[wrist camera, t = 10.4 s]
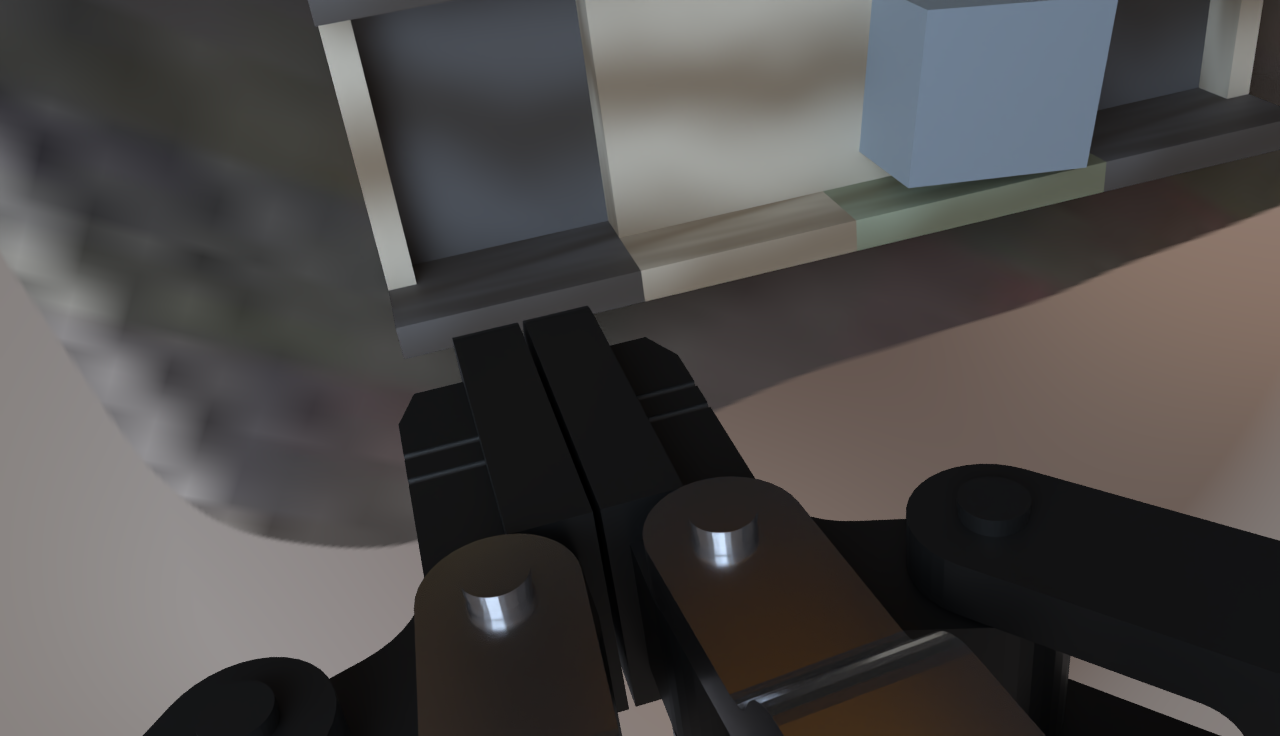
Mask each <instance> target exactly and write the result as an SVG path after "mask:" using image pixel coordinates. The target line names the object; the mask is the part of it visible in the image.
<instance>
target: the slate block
mask: <svg viewBox="0 0 1280 736" xmlns="http://www.w3.org/2000/svg"><path fill="white" fill-rule="evenodd" d="M1117 4H1118V0H872V7H871V18H870V30H869V42H868V54H867V65H866V77H865V89H864V101H863V112H862V124H861V136H860V148H859V152H861V153H862V154H863V155H865V156H866V157H867V158H869V159H870V160H871V161H873V162H874V163H875V164H877V165H878V166H879V167H881V168H882V169H883V170H885V171H886V172H887V173H889V174H890V175H891V176H893V177H894V178H895V179H897V180H898V181H899V182H901V183H902V184H903V185H905V186H906V187H907V188H915V187H923V186H932V185H940V184H949V183H957V182H966V181H975V180H983V179H992V178H1000V177H1009V176H1017V175H1026V174H1035V173H1043V172H1052V171H1060V170H1069V169H1077V168H1086V167H1087V163H1088V157H1089V152H1090V147H1091V141H1092V136H1093V131H1094V125H1095V120H1096V115H1097V110H1098V104H1099V99H1100V94H1101V88H1102V83H1103V78H1104V72H1105V67H1106V62H1107V57H1108V51H1109V46H1110V41H1111V35H1112V30H1113V25H1114V19H1115V14H1116V9H1117Z"/></svg>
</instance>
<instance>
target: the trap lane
mask: <svg viewBox="0 0 1280 736" xmlns="http://www.w3.org/2000/svg"><path fill="white" fill-rule="evenodd" d="M308 2H309V6H310V10H311V13H312V17H313V21H314V25H315V27H316V26H318V27H319V31H320V34H321V38H322V42H323V46H324V49H325V53H326V57H327V61H328V64H329V68H330V72H331V76H332V79H333V83H334V87H335V91H336V94H337V98H338V102H339V106H340V109H341V113H342V117H343V121H344V124H345V128H346V132H347V136H348V139H349V143H350V147H351V151H352V155H353V158H354V162H355V166H356V170H357V173H358V177H359V181H360V185H361V188H362V192H363V196H364V200H365V203H366V207H367V211H368V215H369V218H370V222H371V226H372V230H373V233H374V237H375V241H376V245H377V248H378V252H379V256H380V260H381V263H382V267H383V271H384V275H385V278H386V282H387V286H388V290H389V295H390V300H391V305H392V310H393V316H394V321H395V326H396V331H397V334H398V338H399V342H400V346H401V349H402V353H403V357H404V359H407V358H411V357H415V356H419V355H423V354H428V353H432V352H436V351H440V350H444V349H449V348H453V347H454V345H453V340H452V338H454V337H458V336H462V335H466V334H470V333H475V332H479V331H483V330H487V329H491V328H496V327H500V326H504V325H508V324H512V323H518V324H519V326H520V328H521V331H523V321H524V320H528V319H532V318H537V317H541V316H545V315H549V314H553V313H558V312H562V311H566V310H570V309H574V308H579V307H583V306H589V308H590V309H591V311H592V313H593V314H595V313H599V312H603V311H608V310H612V309H616V308H620V307H624V306H628V305H633V304H637V303H641V302H645V301H649V300H654V299H658V298H662V297H666V296H670V295H674V294H679V293H683V292H687V291H691V290H695V289H700V288H704V287H708V286H712V285H716V284H720V283H725V282H729V281H733V280H737V279H741V278H746V277H750V276H754V275H758V274H762V273H766V272H771V271H775V270H779V269H783V268H787V267H792V266H796V265H800V264H804V263H808V262H813V261H817V260H821V259H825V258H829V257H833V256H838V255H842V254H846V253H850V252H854V251H859V250H863V249H867V248H871V247H875V246H879V245H884V244H888V243H892V242H896V241H900V240H905V239H909V238H913V237H917V236H921V235H925V234H930V233H934V232H938V231H942V230H946V229H951V228H955V227H959V226H963V225H967V224H971V223H976V222H980V221H984V220H988V219H992V218H997V217H1001V216H1005V215H1009V214H1013V213H1017V212H1022V211H1026V210H1030V209H1034V208H1038V207H1043V206H1047V205H1051V204H1055V203H1059V202H1064V201H1068V200H1072V199H1076V198H1080V197H1084V196H1089V195H1093V194H1097V193H1101V192H1105V191H1110V190H1114V189H1118V188H1122V187H1126V186H1130V185H1135V184H1139V183H1143V182H1147V181H1151V180H1156V179H1160V178H1164V177H1168V176H1172V175H1176V174H1181V173H1185V172H1189V171H1193V170H1197V169H1202V168H1206V167H1210V166H1214V165H1218V164H1222V163H1227V162H1231V161H1235V160H1239V159H1243V158H1248V157H1252V156H1256V155H1260V154H1264V153H1269V152H1273V151H1277V150H1280V106H1278V105H1276V104H1273V103H1271V102H1268V101H1265V100H1263V99H1260V98H1258V97H1255V96H1253V95H1250V94H1249V89H1250V82H1251V76H1252V70H1253V63H1254V57H1255V51H1256V44H1257V38H1258V32H1259V25H1260V19H1261V13H1262V6H1263V0H1118V4H1117V9H1116V14H1115V19H1114V25H1113V30H1112V35H1111V41H1110V46H1109V51H1108V57H1107V62H1106V67H1105V72H1104V78H1103V83H1102V88H1101V94H1100V99H1099V104H1098V110H1097V115H1096V120H1095V125H1094V131H1093V136H1092V141H1091V147H1090V152H1089V157H1088V163H1087V167H1086V168H1077V169H1069V170H1060V171H1052V172H1043V173H1035V174H1026V175H1017V176H1009V177H1000V178H992V179H983V180H975V181H966V182H957V183H949V184H940V185H932V186H923V187H915V188H907V187H906V186H905V185H903V184H902V183H901V182H899V181H898V180H897V179H895V178H894V177H893V176H891V175H890V174H889V173H887V172H886V171H885V170H883V169H882V168H881V167H879V166H878V165H877V164H875V163H874V162H873V161H871V160H870V159H869V158H867V157H866V156H865V155H863V154H862V153H861V152H859V148H860V136H861V124H862V112H863V101H864V89H865V77H866V65H867V54H868V42H869V30H870V18H871V7H872V0H308Z"/></svg>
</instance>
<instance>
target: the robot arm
mask: <svg viewBox="0 0 1280 736" xmlns="http://www.w3.org/2000/svg"><path fill="white" fill-rule="evenodd" d="M523 332H524V336H523V333H522V331H521V328H520V326H519V324H518V323H512V324H508V325H504V326H500V327H496V328H491V329H487V330H483V331H479V332H475V333H470V334H466V335H462V336H458V337H454V338H452V340H453V345H454V350H455V354H456V358H457V362H458V366H459V371H460V375H461V379H462V382H461V383H457V384H453V385H449V386H445V387H441V388H437V389H433V390H428V391H424V392H420V393H416V394H414V395H413V397H412V399H411V401H410V403H409V405H408V407H407V409H406V411H405V413H404V415H403V417H402V419H401V421H400V423H399V430H400V436H401V442H402V448H403V454H404V458H405V466H406V472H407V478H408V482H409V489H410V495H411V501H412V507H413V513H414V519H415V525H416V531H417V537H418V543H419V549H420V555H421V561H422V567H423V573H424V579H423V581H422V582H421V584H420V586H419V588H418V591H417V593H416V596H415V604H414V616H413V618H412V619H411V620H410V622H409V623H408V624H407V626H406V627H405V628H404V629H403V630H402V631H401V632H400V633H399V634H398V635H397V636H396V637H395V638H394V639H393V640H392V641H391V642H390V643H388V644H387V645H386V646H384V647H383V648H382V649H380V650H379V651H378V652H376V653H375V654H373V655H371V656H369V657H368V658H366V659H365V660H363V661H361V662H360V663H357V664H356V665H354V666H352V667H350V668H348V669H346V670H345V671H343V672H341V673H339V674H337V675H335V676H334V677H332V678H330V679H329V678H328V677H327V676H326V675H325V674H324V673H323V672H322V671H321V670H320V669H319V668H317V667H315V666H314V665H312V664H310V663H308V662H305V661H302V660H299V659H293V658H287V657H269V658H261V659H255V660H250V661H246V662H242V663H239V664H236V665H233V666H231V667H228V668H225V669H223V670H221V671H219V672H217V673H215V674H213V675H211V676H209V677H207V678H206V679H204V680H202V681H201V682H199V683H198V684H196V685H194V686H193V687H192V688H190V689H189V690H188V691H187V692H185V693H184V694H183V695H182V696H180V698H178V699H177V700H176V701H175V702H174V703H173V704H172V705H171V706H170V707H169V708H168V709H167V710H166V711H165V712H164V713H163V715H162V716H161V717H160V718H159V719H158V720H157V721H156V722H155V723H154V724H153V725H152V726H151V727H150V728H149V730H148V731H147V732H146V733H145V734H144V735H143V736H622V733H621V728H620V723H619V718H618V712H621V711H625V710H628V709H629V707H628V701H627V696H626V691H625V685H624V679H623V674H622V670H623V673H624V675H625V678H626V681H627V684H628V686H629V689H630V692H631V695H632V698H633V700H634V703H635V706H639V705H643V704H646V703H649V702H653V701H656V700H659V699H662V700H663V703H664V705H665V708H666V710H667V713H668V716H669V718H670V721H671V723H672V727H673V734H674V736H1220V735H1217V734H1214V733H1212V732H1209V731H1206V730H1204V729H1201V728H1198V727H1195V726H1193V725H1190V724H1188V723H1185V722H1182V721H1180V720H1177V719H1174V718H1172V717H1169V716H1166V715H1164V714H1161V713H1158V712H1155V711H1153V710H1151V709H1148V708H1145V707H1143V706H1140V705H1137V704H1135V703H1132V702H1129V701H1126V700H1124V699H1121V698H1119V697H1116V696H1113V695H1111V694H1108V693H1105V692H1103V691H1100V690H1097V689H1095V688H1092V687H1089V686H1087V685H1084V684H1081V683H1079V682H1076V681H1073V680H1071V679H1068V674H1069V663H1070V656H1073V657H1076V658H1078V659H1081V660H1084V661H1087V662H1089V663H1092V664H1095V665H1098V666H1101V667H1103V668H1106V669H1108V670H1111V671H1114V672H1117V673H1119V674H1122V675H1125V676H1128V677H1130V678H1133V679H1136V680H1139V681H1141V682H1144V683H1147V684H1150V685H1153V686H1155V687H1158V688H1161V689H1163V690H1166V691H1169V692H1171V693H1174V694H1177V695H1180V696H1182V697H1185V698H1188V699H1191V700H1193V701H1196V702H1199V703H1202V704H1204V705H1206V706H1209V707H1211V708H1213V709H1215V710H1216V711H1218V712H1220V713H1221V714H1223V715H1224V716H1225V717H1227V718H1228V719H1229V720H1230V721H1232V722H1233V723H1234V724H1235V725H1236V726H1237V728H1238V729H1239V730H1240V731H1241V732H1242V734H1243V735H1244V736H1280V541H1278V540H1275V539H1272V538H1268V537H1264V536H1261V535H1257V534H1253V533H1250V532H1247V531H1243V530H1239V529H1236V528H1232V527H1229V526H1225V525H1222V524H1218V523H1215V522H1211V521H1207V520H1204V519H1200V518H1197V517H1193V516H1190V515H1186V514H1182V513H1179V512H1175V511H1172V510H1168V509H1164V508H1161V507H1157V506H1154V505H1150V504H1146V503H1143V502H1140V501H1136V500H1133V499H1129V498H1125V497H1122V496H1118V495H1115V494H1111V493H1108V492H1104V491H1101V490H1097V489H1093V488H1090V487H1086V486H1082V485H1079V484H1076V483H1072V482H1068V481H1064V480H1061V479H1058V478H1054V477H1050V476H1047V475H1043V474H1040V473H1036V472H1033V471H1029V470H1026V469H1021V468H1017V467H1012V466H1006V465H998V464H976V465H965V466H960V467H955V468H951V469H948V470H945V471H942V472H940V473H937V474H935V475H933V476H931V477H930V478H928V479H927V480H925V481H924V482H922V483H921V484H920V485H919V486H918V487H917V488H916V489H915V490H914V491H913V493H912V495H911V496H910V498H909V500H908V504H907V507H906V519H894V520H872V521H833V520H824V519H819V518H814V517H810V516H809V515H808V513H807V512H806V511H805V509H804V508H803V507H802V506H801V505H800V503H799V502H798V501H797V500H796V499H795V498H794V497H793V496H792V495H791V494H789V493H788V492H786V491H785V490H783V489H782V488H780V487H778V486H776V485H774V484H772V483H769V482H765V481H762V480H759V479H755V478H754V476H753V474H752V473H751V471H750V470H749V468H748V466H747V465H746V463H745V462H744V460H743V459H742V457H741V455H740V454H739V452H738V450H737V449H736V447H735V446H734V444H733V442H732V441H731V439H730V438H729V436H728V434H727V433H726V431H725V430H724V428H723V426H722V425H721V423H720V422H719V420H718V418H717V417H716V415H715V414H714V412H713V410H712V409H711V407H708V404H707V401H706V399H705V398H704V396H703V394H702V393H701V391H700V390H699V388H698V386H695V384H694V380H693V378H692V377H691V375H690V374H689V372H688V370H687V369H686V367H685V366H684V364H683V362H682V361H681V359H680V358H679V356H678V355H677V354H675V353H673V352H672V351H670V350H668V349H666V348H664V347H662V346H661V345H659V344H657V343H655V342H653V341H652V340H650V339H648V338H646V337H644V338H640V339H636V340H632V341H628V342H624V343H619V344H615V345H611V346H610V345H609V343H608V341H607V339H606V338H605V336H604V334H603V332H602V330H601V328H600V326H599V324H598V322H597V320H596V319H595V317H594V315H593V313H592V311H591V309H590V308H589V306H583V307H579V308H574V309H570V310H566V311H562V312H558V313H553V314H549V315H545V316H541V317H537V318H532V319H528V320H524V321H523ZM621 667H622V668H621Z"/></svg>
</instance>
